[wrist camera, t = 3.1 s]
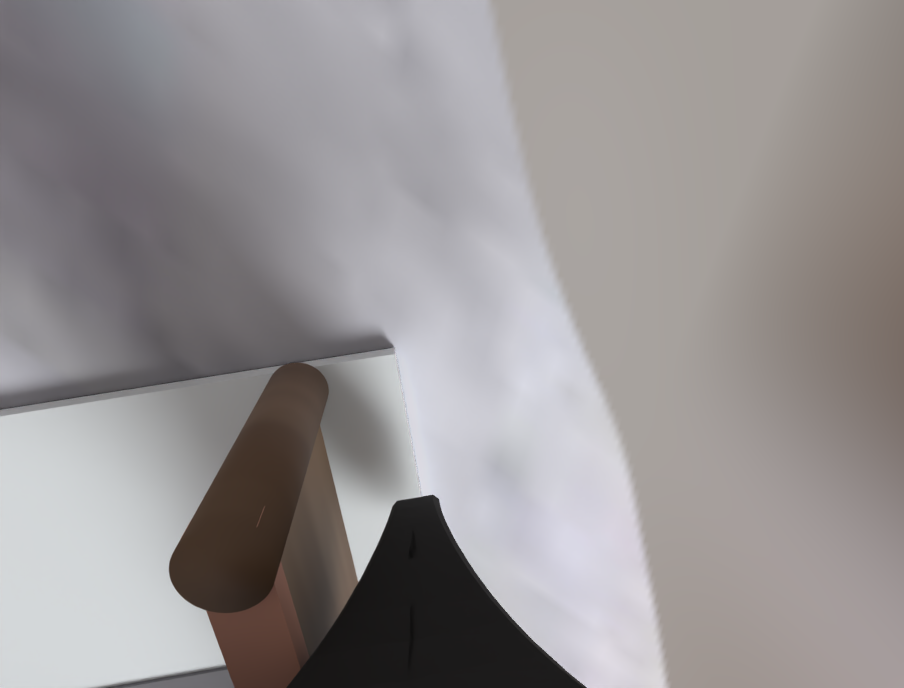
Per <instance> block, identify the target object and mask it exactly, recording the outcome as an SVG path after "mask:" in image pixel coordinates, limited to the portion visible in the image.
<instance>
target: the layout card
mask: <svg viewBox="0 0 904 688" xmlns="http://www.w3.org/2000/svg"><path fill="white" fill-rule="evenodd" d="M300 363H305V364H308V365H311V366H313V367H315V368H316V369H318V370H319V371H320V372H321V373H322V374H323V375H324V377H325V379H326V381H327V383H328V387H329V395H328V399H327V402H326V406H325V409H324V413H323V416H322V420H321V423H320V427H321V431H322V435H323V439H324V443H325V447H326V452H327V456H328V460H329V464H330V468H331V472H332V476H333V480H334V484H335V488H336V493H337V497H338V501H339V505H340V509H341V513H342V517H343V521H344V525H345V529H346V534H347V538H348V542H349V546H350V550H351V554H352V558H353V562H354V566H355V571H356V575H357V579H358V582H359V580H360V579H361V577H362V575H363V573H364V571H365V569H366V567H367V565H368V563H369V561H370V559H371V557H372V555H373V553H374V551H375V549H376V547H377V544H378V542H379V540H380V538H381V535H382V533H383V531H384V528H385V526H386V523H387V521H388V518H389V515H390V512H391V509H392V506H393V505H394V504H395V503H396V501H398V500H404V499H411V498H417V497H422V494H421V488H420V483H419V477H418V472H417V466H416V461H415V456H414V450H413V445H412V439H411V434H410V428H409V423H408V417H407V412H406V406H405V401H404V395H403V390H402V385H401V379H400V374H399V368H398V363H397V357H396V352H395V348H389V349H382V350H376V351H370V352H363V353H357V354H351V355H344V356H338V357H332V358H325V359H319V360H313V361H306V362H300ZM281 366H283V365H281ZM281 366H275V367H268V368H262V369H256V370H249V371H243V372H237V373H230V374H224V375H217V376H211V377H205V378H198V379H192V380H186V381H179V382H173V383H167V384H160V385H154V386H148V387H141V388H135V389H129V390H122V391H116V392H110V393H103V394H97V395H91V396H84V397H78V398H72V399H65V400H59V401H53V402H46V403H40V404H34V405H27V406H21V407H15V408H8V409H2V410H0V688H234V685H233V683H232V680H231V677H230V674H229V672H228V669H227V666H226V664H225V661H224V658H223V655H222V653H221V650H220V647H219V644H218V642H217V639H216V636H215V634H214V631H213V628H212V625H211V623H210V620H209V617H208V614H207V612H206V610H203V609H201V608H198V607H196V606H194V605H192V604H191V603H189V602H188V601H186V600H185V599H184V598H183V597H182V596H181V595H180V594H179V593H178V592H177V591H176V589H175V588H174V586H173V584H172V582H171V579H170V576H169V562H170V558H171V556H172V554H173V552H174V550H175V548H176V546H177V545H178V543H179V541H180V539H181V537H182V535H183V534H184V532H185V530H186V528H187V526H188V525H189V523H190V521H191V519H192V518H193V516H194V514H195V512H196V511H197V509H198V507H199V505H200V503H201V502H202V500H203V498H204V496H205V494H206V493H207V491H208V489H209V487H210V485H211V484H212V482H213V480H214V478H215V477H216V475H217V473H218V471H219V469H220V468H221V466H222V464H223V462H224V460H225V459H226V457H227V455H228V453H229V451H230V450H231V448H232V446H233V444H234V442H235V441H236V439H237V437H238V435H239V433H240V432H241V430H242V428H243V426H244V424H245V423H246V421H247V419H248V417H249V416H250V414H251V412H252V410H253V408H254V407H255V405H256V403H257V401H258V399H259V398H260V396H261V394H262V392H263V390H264V389H265V387H266V385H267V383H268V381H269V380H270V378H271V376H272V374H273V373H274V372H275V371H276V370H277V369H278V368H280V367H281Z"/></svg>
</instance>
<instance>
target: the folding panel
mask: <svg viewBox="0 0 904 688" xmlns="http://www.w3.org/2000/svg"><path fill="white" fill-rule="evenodd" d="M328 395H329V387H328V383H327V381H326V379H325V377H324V375H323V374H322V373H321V372H320V371H319V370H318V369H316V368H315V367H313V366H311V365H308V364H305V363H289V364H286V365H283V366H281V367H280V368H278V369H277V370H276V371H275V372H274V373H273V374H272V376H271V378H270V380H269V381H268V383H267V385H266V387H265V389H264V390H263V392H262V394H261V396H260V398H259V399H258V401H257V403H256V405H255V407H254V408H253V410H252V412H251V414H250V416H249V417H248V419H247V421H246V423H245V424H244V426H243V428H242V430H241V432H240V433H239V435H238V437H237V439H236V441H235V442H234V444H233V446H232V448H231V450H230V451H229V453H228V455H227V457H226V459H225V460H224V462H223V464H222V466H221V468H220V469H219V471H218V473H217V475H216V477H215V478H214V480H213V482H212V484H211V485H210V487H209V489H208V491H207V493H206V494H205V496H204V498H203V500H202V502H201V503H200V505H199V507H198V509H197V511H196V512H195V514H194V516H193V518H192V519H191V521H190V523H189V525H188V526H187V528H186V530H185V532H184V534H183V535H182V537H181V539H180V541H179V543H178V545H177V546H176V548H175V550H174V552H173V554H172V556H171V558H170V562H169V576H170V579H171V582H172V584H173V586H174V588H175V589H176V591H177V592H178V593H179V594H180V595H181V596H182V597H183V598H184V599H185V600H186V601H188V602H189V603H191V604H192V605H194V606H196V607H198V608H201V609H203V610H206V612H207V614H208V617H209V620H210V623H211V625H212V628H213V631H214V634H215V636H216V639H217V642H218V644H219V647H220V650H221V653H222V655H223V658H224V661H225V664H226V666H227V669H228V672H229V674H230V677H231V680H232V683H233V685H234V688H286V687H287V686H288V685H289V683H290V682H291V681H292V680H293V678H294V677H295V676H296V675H297V673H298V672H299V671H300V669H301V668H302V667H303V666H304V664H305V663H306V662H307V660H308V659H309V658H310V657H311V655H312V654H313V653H314V651H315V650H316V648H317V647H318V646H319V644H320V643H321V641H322V640H323V639H324V637H325V636H326V634H327V633H328V631H329V630H330V628H331V627H332V625H333V624H334V622H335V621H336V619H337V618H338V616H339V615H340V613H341V611H342V610H343V608H344V606H345V605H346V603H347V601H348V599H349V598H350V596H351V594H352V593H353V591H354V589H355V587H356V586H357V584H358V579H357V575H356V571H355V566H354V562H353V558H352V554H351V550H350V546H349V542H348V538H347V534H346V529H345V525H344V521H343V517H342V513H341V509H340V505H339V501H338V497H337V493H336V488H335V484H334V480H333V476H332V472H331V468H330V464H329V460H328V456H327V452H326V447H325V443H324V439H323V435H322V431H321V427H320V423H321V420H322V416H323V413H324V409H325V406H326V402H327V399H328Z"/></svg>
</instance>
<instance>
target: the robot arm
mask: <svg viewBox="0 0 904 688" xmlns="http://www.w3.org/2000/svg"><path fill="white" fill-rule="evenodd" d="M286 688H587V687H585V686H584V685H583V684H582V683H580V682H579V681H578V680H577V679H575V678H574V677H573V676H572V675H570V674H569V673H568V672H567V671H566V670H565V669H564V668H562V667H561V666H560V665H559V664H558V663H557V662H556V661H555V660H554V659H553V658H552V657H550V656H549V655H548V654H547V653H546V652H545V651H544V650H543V649H542V648H541V647H539V646H538V645H537V644H536V643H535V642H534V641H533V640H532V639H531V638H530V637H529V636H528V635H527V634H526V633H525V632H524V631H523V630H522V629H521V628H520V627H519V625H518V624H517V623H516V622H515V621H514V620H513V619H512V618H511V617H510V616H509V614H508V613H507V612H506V611H505V610H504V609H503V608H502V606H501V605H500V604H499V603H498V602H497V600H496V599H495V598H494V597H493V596H492V594H491V593H490V592H489V590H488V589H487V588H486V586H485V585H484V584H483V582H482V581H481V580H480V578H479V577H478V575H477V574H476V573H475V571H474V570H473V568H472V567H471V565H470V564H469V562H468V561H467V559H466V557H465V556H464V554H463V553H462V551H461V549H460V548H459V546H458V544H457V543H456V541H455V539H454V537H453V535H452V534H451V531H450V529H449V527H448V525H447V523H446V521H445V519H444V516H443V514H442V511H441V507H440V503H439V499H438V498H437V497H435V496H434V495H429V496H423V497H417V498H411V499H404V500H398V501H396V503H395V504H394V505H393V506H392V509H391V512H390V515H389V518H388V521H387V523H386V526H385V528H384V531H383V533H382V535H381V538H380V540H379V542H378V544H377V547H376V549H375V551H374V553H373V555H372V557H371V559H370V561H369V563H368V565H367V567H366V569H365V571H364V573H363V575H362V577H361V579H360V580H359V582H358V584H357V586H356V587H355V589H354V591H353V593H352V594H351V596H350V598H349V599H348V601H347V603H346V605H345V606H344V608H343V610H342V611H341V613H340V615H339V616H338V618H337V619H336V621H335V622H334V624H333V625H332V627H331V628H330V630H329V631H328V633H327V634H326V636H325V637H324V639H323V640H322V641H321V643H320V644H319V646H318V647H317V648H316V650H315V651H314V653H313V654H312V655H311V657H310V658H309V659H308V660H307V662H306V663H305V664H304V666H303V667H302V668H301V669H300V671H299V672H298V673H297V675H296V676H295V677H294V678H293V680H292V681H291V682H290V683H289V685H288V686H287V687H286Z"/></svg>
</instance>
